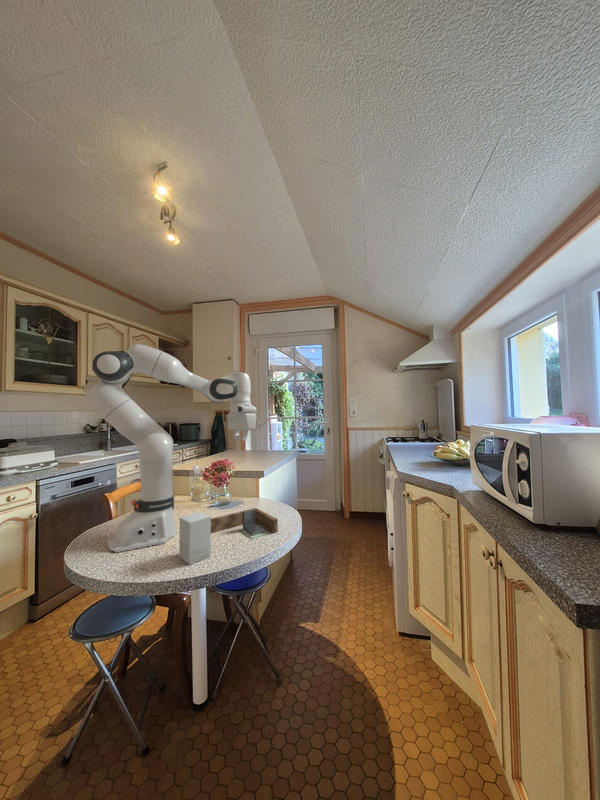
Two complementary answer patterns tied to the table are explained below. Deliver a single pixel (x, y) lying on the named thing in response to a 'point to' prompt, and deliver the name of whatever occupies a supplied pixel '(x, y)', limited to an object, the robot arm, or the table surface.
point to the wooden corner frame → (237, 520)
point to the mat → (255, 535)
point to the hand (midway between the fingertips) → (240, 440)
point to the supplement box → (195, 537)
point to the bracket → (251, 523)
